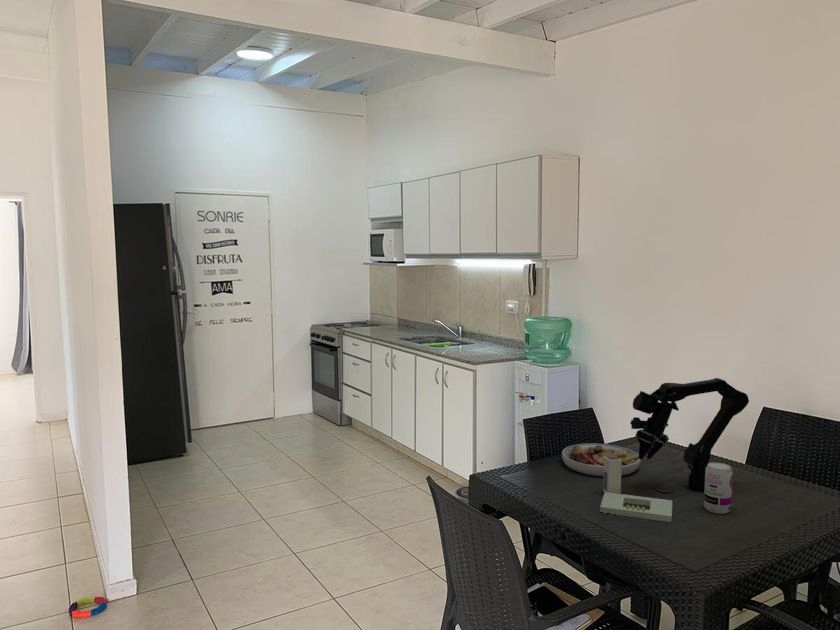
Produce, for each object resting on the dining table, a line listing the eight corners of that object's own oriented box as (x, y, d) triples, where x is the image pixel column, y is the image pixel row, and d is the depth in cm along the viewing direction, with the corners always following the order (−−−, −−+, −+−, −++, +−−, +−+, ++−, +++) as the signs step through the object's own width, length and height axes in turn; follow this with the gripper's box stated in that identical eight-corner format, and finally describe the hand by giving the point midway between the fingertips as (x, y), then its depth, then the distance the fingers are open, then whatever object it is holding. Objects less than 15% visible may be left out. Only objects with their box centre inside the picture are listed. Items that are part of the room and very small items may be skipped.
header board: (672, 506, 227) (672, 497, 227) (671, 522, 214) (671, 512, 214) (604, 497, 235) (604, 488, 235) (600, 512, 222) (600, 503, 222)
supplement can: (729, 506, 227) (731, 463, 225) (732, 516, 219) (734, 471, 217) (703, 503, 229) (704, 460, 228) (704, 512, 222) (706, 468, 220)
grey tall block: (614, 491, 241) (615, 454, 240) (620, 495, 237) (621, 458, 235) (601, 492, 240) (602, 454, 239) (606, 496, 236) (607, 458, 235)
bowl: (589, 450, 290) (589, 432, 289) (654, 467, 268) (655, 447, 267) (546, 466, 269) (546, 446, 269) (613, 485, 247) (613, 464, 247)
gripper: (646, 410, 251) (631, 449, 252) (629, 407, 236) (614, 449, 237) (675, 422, 245) (660, 462, 245) (660, 420, 230) (644, 463, 231)
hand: (644, 459), depth 240 cm, fingers open, 9 cm apart
